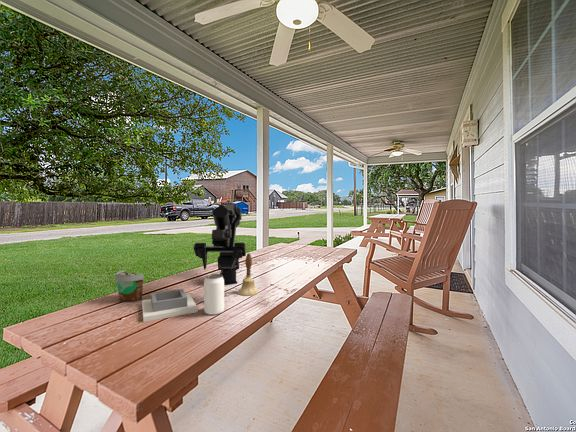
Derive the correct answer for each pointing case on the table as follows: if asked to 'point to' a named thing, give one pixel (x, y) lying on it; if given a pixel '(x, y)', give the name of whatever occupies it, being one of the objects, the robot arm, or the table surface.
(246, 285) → the hand bell
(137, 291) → the food container
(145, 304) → the socket board
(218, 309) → the can
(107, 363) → the table surface
